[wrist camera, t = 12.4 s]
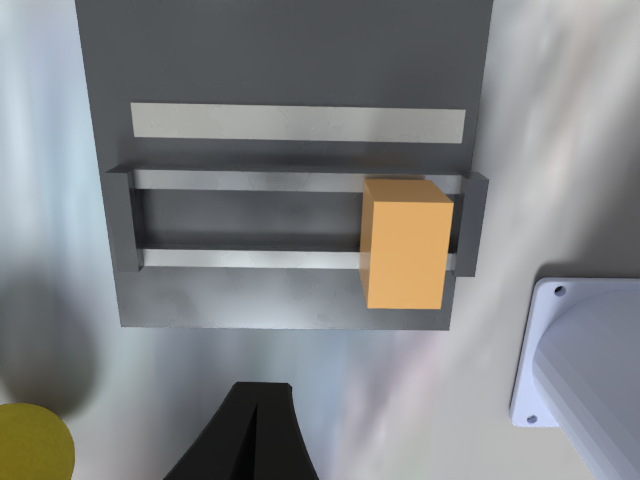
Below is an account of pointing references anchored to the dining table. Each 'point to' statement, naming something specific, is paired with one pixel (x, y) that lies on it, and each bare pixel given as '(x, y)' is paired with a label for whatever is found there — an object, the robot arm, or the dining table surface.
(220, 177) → the console
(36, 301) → the dining table surface
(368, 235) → the block
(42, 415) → the lemon
